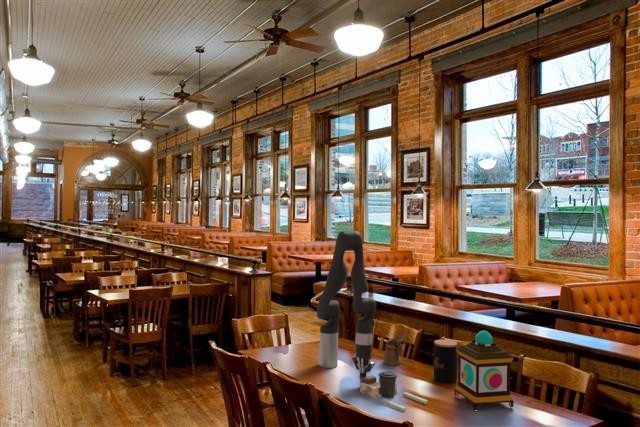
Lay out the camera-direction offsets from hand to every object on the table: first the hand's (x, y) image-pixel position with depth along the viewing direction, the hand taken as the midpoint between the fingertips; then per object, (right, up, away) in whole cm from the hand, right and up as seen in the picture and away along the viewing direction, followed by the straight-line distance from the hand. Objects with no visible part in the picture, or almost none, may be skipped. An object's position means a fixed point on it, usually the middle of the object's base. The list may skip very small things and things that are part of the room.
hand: (362, 380), depth 227 cm
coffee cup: (+10, -3, -12) cm, 15 cm away
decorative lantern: (+48, -4, -18) cm, 52 cm away
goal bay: (+16, -3, -20) cm, 25 cm away
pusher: (+4, -2, -5) cm, 7 cm away
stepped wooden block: (+6, -3, -8) cm, 10 cm away
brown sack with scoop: (+20, -3, +35) cm, 40 cm away
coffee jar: (+40, -3, +10) cm, 41 cm away
